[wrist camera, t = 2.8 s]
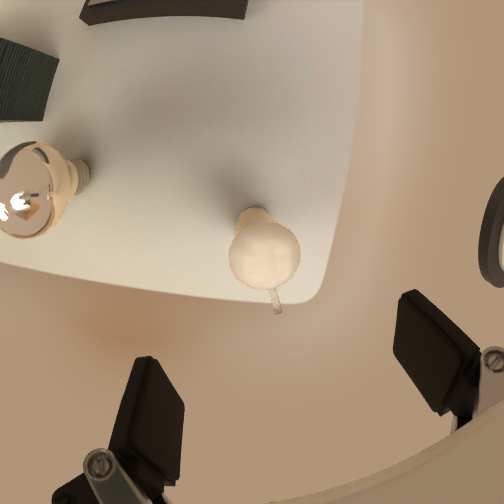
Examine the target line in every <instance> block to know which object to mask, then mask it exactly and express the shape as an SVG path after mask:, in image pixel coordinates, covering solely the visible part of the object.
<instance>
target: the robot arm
mask: <svg viewBox="0 0 504 504" xmlns="http://www.w3.org/2000/svg"><path fill="white" fill-rule="evenodd" d="M498 257H499V264H500V267H501V269H502V270H503V271H504V222H503V226H502V230H501V235H500V240H499V250H498ZM479 350H480V348H479V347H478V346H477V345H476V344H475V343H474V342H473V341H472V340H471V339H470V338H469V337H468V336H467V335H466V334H465V333H464V332H463V331H462V330H461V329H460V328H459V327H458V326H456V324H455V323H453V322H452V321H451V320H450V319H449V318H448V317H447V316H446V315H445V314H444V313H443V312H442V311H441V310H439V309H438V308H437V307H436V306H435V305H434V304H433V303H432V302H430V301H429V300H428V299H427V298H426V297H425V296H424V295H423V294H421V293H420V292H419V291H418V290H416V289H414V290H411V291H408V292H405V293H403V294H402V296H401V298H400V299H399V301H398V310H397V320H396V328H395V336H394V343H393V353H394V355H395V357H396V358H397V360H398V361H399V363H400V364H401V365H402V367H403V368H404V369H405V371H406V372H407V374H408V375H409V377H410V378H411V380H412V381H413V383H414V384H415V385H416V387H417V388H418V390H419V391H420V393H421V394H422V396H423V397H424V399H425V400H426V402H427V403H428V405H429V406H430V408H431V409H432V411H434V412H437V413H438V414H439V416H442V415H444V414H446V413H447V412H449V411H450V410H451V411H452V413H453V414H454V416H453V422H452V428H451V433H450V435H449V436H447V437H446V438H444V439H442V440H441V441H439V442H437V443H435V444H434V445H432V446H430V447H429V448H427V449H425V450H423V451H421V452H419V453H418V454H416V455H414V456H412V457H410V458H408V459H406V460H404V461H402V462H400V463H397V464H396V465H393V466H391V467H389V468H387V469H384V470H382V471H379V472H377V473H375V474H372V475H370V476H367V477H365V478H362V479H359V480H357V481H354V482H351V483H348V484H345V485H342V486H338V487H335V488H332V489H328V490H325V491H321V492H318V493H314V494H310V495H306V496H301V497H297V498H293V499H287V500H281V501H276V502H270V503H263V504H504V349H503V348H501V347H497V346H493V347H489V348H487V349H485V350H484V351H483V353H481V352H480V351H479ZM184 411H185V408H184V403H183V401H182V399H181V398H180V396H179V395H178V393H177V391H176V390H175V388H174V387H173V385H172V383H171V382H170V380H169V379H168V377H167V375H166V374H165V372H164V370H163V369H162V367H161V365H160V363H159V362H158V360H157V359H153V357H151V356H146V357H137V358H136V359H135V362H134V365H133V368H132V371H131V374H130V377H129V380H128V383H127V386H126V389H125V392H124V395H123V397H122V400H121V404H120V407H119V410H118V414H117V417H116V421H115V424H114V428H113V432H112V435H111V439H110V443H109V447H108V449H104V448H99V449H95V450H93V451H91V452H90V453H89V454H88V455H87V456H86V458H85V460H84V462H83V469H84V473H82V474H81V475H79V476H77V477H76V478H74V479H73V480H71V481H70V482H68V483H66V484H65V485H63V486H62V487H60V488H58V489H57V490H56V491H55V492H54V494H53V495H52V504H173V503H172V502H171V501H170V500H169V499H168V497H167V496H166V495H165V494H164V486H175V483H176V482H175V481H176V480H178V479H179V477H180V461H181V445H182V433H183V421H184Z"/></svg>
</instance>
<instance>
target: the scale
mask: <svg viewBox="0 0 504 504" xmlns="http://www.w3.org/2000/svg"><path fill="white" fill-rule="evenodd" d="M248 1H249V0H86V2H85V4H84V6H83V9H82V11H81V14H80V16H79V18H80V19H81V20H82V21H84V22H85V23H86V24H88V25H89V26H90V25H95V24H100V23H105V22H111V21H118V20H125V19H133V18H144V17H158V16H210V17H224V18H235V19H243V20H244V18H245V13H246V9H247V5H248Z"/></svg>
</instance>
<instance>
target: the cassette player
mask: <svg viewBox="0 0 504 504" xmlns="http://www.w3.org/2000/svg"><path fill="white" fill-rule="evenodd" d="M58 62H59V59H57V58H54V57H52V56H49V55H47V54H44V53H42V52H39V51H37V50H34V49H31V48H29V47H26V46H23V45H21V44H18V43H15V42H12V41H9V40H6V39H3V38H0V123H1V122H26V121H43V116H44V111H45V107H46V103H47V99H48V95H49V91H50V88H51V84H52V81H53V78H54V74H55V71H56V68H57V65H58Z"/></svg>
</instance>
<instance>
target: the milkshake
mask: <svg viewBox="0 0 504 504" xmlns="http://www.w3.org/2000/svg"><path fill="white" fill-rule="evenodd" d="M229 262H230V266H231V270H232V272H233V274H234V276H235V277H236V278H237V279H238V280H239V281H241V282H242V283H243V284H245V285H246V286H248V287H250V288H253V289H258V290H265V289H269V293H270V297H271V301H272V304H273V308H274V312H275V314H280V313H282V309H281V306H280V302H279V298H278V295H277V291H276V287H278V286H280V285H282V284H284V283H286V282H287V281H288V280H289V279H290V278H291V277H292V276H293V275H294V273H295V271H296V270H297V268H298V265H299V262H300V247H299V243H298V241H297V239H296V237H295V235H294V234H293V233H292V232H291V231H290V230H289V229H287V228H286V227H285V226H283V225H282V224H281V223H279V222H278V221H276V220H275V219H274V218H272V217H271V216H270V215H269V214H268V213H267V212H266V211H265V210H263V209H262V208H255V207H250V208H248V209H246V210H245V211H243V212H241V213H240V215H239V218H238V220H237V222H236V226H235V231H234V237H233V241H232V244H231V247H230V251H229Z"/></svg>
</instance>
